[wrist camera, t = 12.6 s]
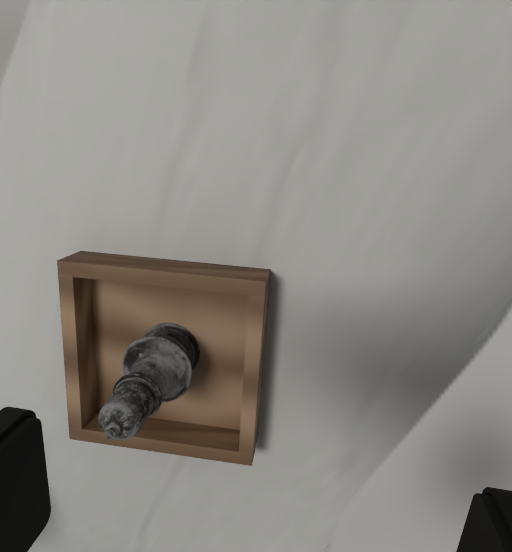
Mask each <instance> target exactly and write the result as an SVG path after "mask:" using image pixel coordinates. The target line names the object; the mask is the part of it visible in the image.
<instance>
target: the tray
mask: <svg viewBox="0 0 512 552" xmlns="http://www.w3.org/2000/svg"><path fill="white" fill-rule="evenodd" d="M57 265H58V279H59V293H60V308H61V322H62V336H63V350H64V365H65V379H66V393H67V407H68V421H69V436H70V439H74V440H80V441H87V442H94V443H101V444H107V445H114V446H121V447H128V448H135V449H141V450H148V451H155V452H162V453H169V454H175V455H182V456H189V457H196V458H202V459H209V460H216V461H223V462H230V463H236V464H243V465H250V466H252V462H253V457H254V452H255V447H256V442H257V433H258V420H259V407H260V395H261V382H262V369H263V356H264V343H265V331H266V318H267V305H268V292H269V279H270V269H260V268H249V267H239V266H229V265H219V264H208V263H198V262H188V261H178V260H167V259H157V258H147V257H137V256H126V255H116V254H106V253H96V252H85V251H80V252H77V253H75V254H72V255H70V256H68V257H65V258H63V259H60V260H58V261H57ZM160 323H174V324H178V325H180V326H183V327H184V328H186V329H187V330H188V331H190V332H191V333H192V335H193V336H194V337H195V339H196V340H197V342H198V345H199V349H200V358H199V361H198V364H197V366H196V367H195V369H194V370H193V371H192V381H191V383H190V386H189V388H188V389H187V391H186V392H185V393H184V394H183V395H182V396H181V397H179V398H178V399H176V400H173V401H170V402H162V404H161V406H160V409H159V410H158V411H157V412H156V413H155V414H154V415H152V416H150V417H148V418H147V419H146V421H145V422H144V424H143V426H142V427H141V429H140V430H139V432H138V433H137V434H136V435H135V436H133V437H132V438H130V439H127V440H114V439H106V437H105V434H104V433H103V432H102V430H101V428H100V425H99V422H98V416H99V413H100V410H101V409H102V407H103V406H104V405H105V403H106V402H107V401H108V400H109V399H110V397H111V396H112V395H113V388H114V385H115V383H116V382H117V381H118V379H120V378H121V377H123V373H122V369H121V364H122V357H123V354H124V352H125V350H126V349H127V347H128V346H129V345H130V344H131V343H133V342H134V341H135V340H137V339H139V338H142V337H144V335H145V334H146V333H147V331H148V330H149V329H151V328H152V327H153V326H155V325H158V324H160Z"/></svg>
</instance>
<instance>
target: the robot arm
mask: <svg viewBox="0 0 512 552" xmlns="http://www.w3.org/2000/svg"><path fill="white" fill-rule="evenodd" d="M50 512H51V505H50V496H49V487H48V478H47V469H46V461H45V452H44V443H43V434H42V425H41V421H40V420H39V419H37V418H36V414H35V413H34V412H33V411H31V410H25V409H19V408H13V407H5V408H3V409H2V410H0V552H27V551H28V550H29V549H30V547H31V546H32V544H33V543H34V542H35V540H36V539H37V537H38V536H39V535H40V533H41V532H42V530H43V529H44V528H45V526H46V524H47V522H48V520H49V517H50ZM457 552H512V491H508V490H502V489H496V488H490V487H486V488H485V489H484V490H483V492H482V494H478V493H476V494H475V495H474V496H473V499H472V502H471V506H470V509H469V512H468V515H467V519H466V522H465V525H464V529H463V532H462V535H461V539H460V542H459V545H458V549H457Z"/></svg>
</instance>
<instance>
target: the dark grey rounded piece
mask: <svg viewBox="0 0 512 552" xmlns="http://www.w3.org/2000/svg"><path fill="white" fill-rule="evenodd" d="M199 358H200V349H199V345H198V342H197V340H196V339H195V337H194V336H193V335H192V333H191V332H190V331H188V330H187V329H186V328H184V327H183V326H180V325H178V324H174V323H160V324H158V325H155V326H153V327H152V328H151V329H149V330H148V331H147V333H146V334H145V335H144V337H142V338H139V339H137V340H135V341H134V342H133V343H131V344H130V345H129V346H128V347H127V349H126V350H125V352H124V354H123V357H122V364H121V369H122V373H123V377H121V378H120V379H118V381H117V382H116V383H115V385H114V388H113V395H112V396H111V397H110V399H109V400H108V401H107V402H106V403H105V405H104V406H103V407H102V409H101V410H100V413H99V416H98V422H99V425H100V428H101V430H102V432H103V433H104V434H105V437H106V439H114V440H127V439H130V438H132V437H133V436H135V435H136V434H137V433H138V432H139V430H140V429H141V427H142V426H143V424H144V422H145V421H146V419H147V418H148V417H150V416H152V415H154V414H155V413H156V412H157V411H158V410H159V409H160V406H161V404H162V402H170V401H173V400H176V399H178V398H179V397H181V396H182V395H183V394H184V393H185V392H186V391H187V389H188V388H189V386H190V383H191V381H192V371H193V370H194V369H195V367H196V366H197V364H198V361H199Z"/></svg>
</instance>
